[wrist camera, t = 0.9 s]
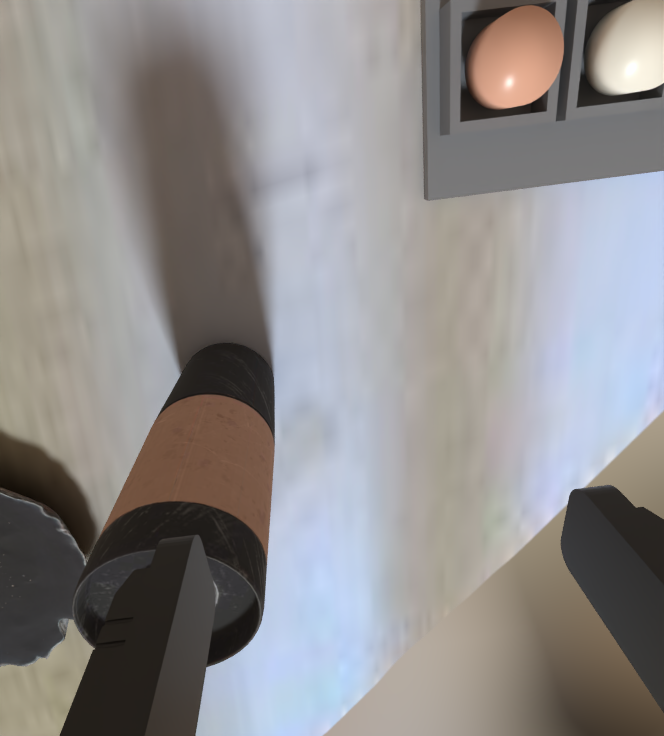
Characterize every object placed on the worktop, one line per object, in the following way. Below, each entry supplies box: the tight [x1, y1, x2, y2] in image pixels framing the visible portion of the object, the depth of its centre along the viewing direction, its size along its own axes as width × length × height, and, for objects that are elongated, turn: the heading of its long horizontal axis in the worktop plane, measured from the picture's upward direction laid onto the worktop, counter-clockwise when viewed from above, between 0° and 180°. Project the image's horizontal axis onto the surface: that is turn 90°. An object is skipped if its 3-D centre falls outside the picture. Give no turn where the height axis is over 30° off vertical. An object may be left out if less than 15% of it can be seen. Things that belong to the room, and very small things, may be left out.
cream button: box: [584, 0, 664, 96], centre depth 25 cm, size 4×4×2 cm
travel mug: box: [72, 343, 275, 667], centre depth 27 cm, size 8×8×20 cm
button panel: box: [421, 0, 664, 201], centre depth 27 cm, size 14×22×3 cm, turn 96°
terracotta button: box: [465, 5, 564, 110], centre depth 25 cm, size 4×4×2 cm
